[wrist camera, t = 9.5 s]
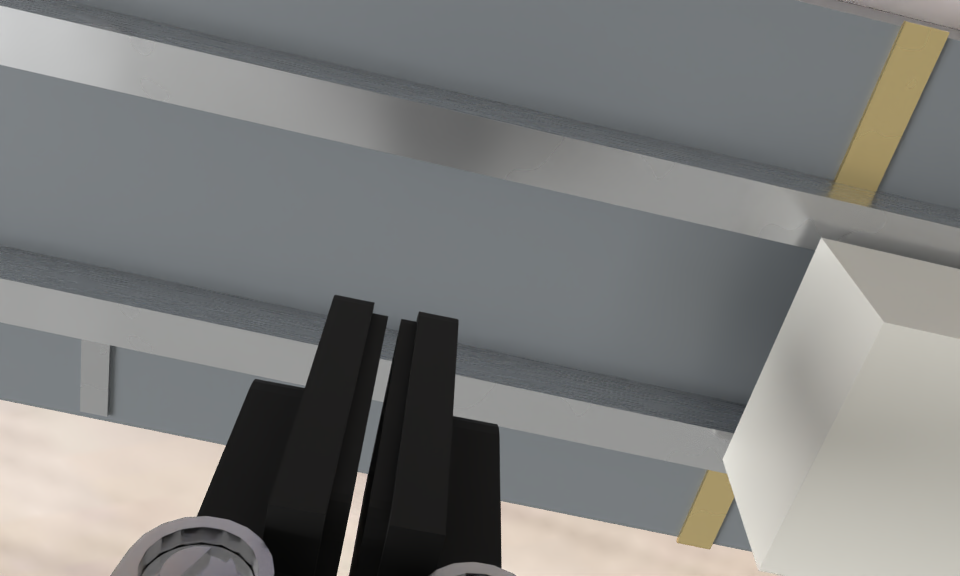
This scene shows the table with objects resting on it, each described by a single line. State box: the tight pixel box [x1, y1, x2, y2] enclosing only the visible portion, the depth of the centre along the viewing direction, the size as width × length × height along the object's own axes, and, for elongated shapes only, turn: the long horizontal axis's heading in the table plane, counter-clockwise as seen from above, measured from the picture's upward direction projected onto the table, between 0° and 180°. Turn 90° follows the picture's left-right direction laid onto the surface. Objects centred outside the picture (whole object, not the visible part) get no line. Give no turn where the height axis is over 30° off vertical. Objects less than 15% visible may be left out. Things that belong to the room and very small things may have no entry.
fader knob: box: [723, 238, 960, 576], centre depth 16 cm, size 5×4×4 cm
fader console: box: [0, 0, 960, 552], centre depth 18 cm, size 12×26×3 cm, turn 77°
